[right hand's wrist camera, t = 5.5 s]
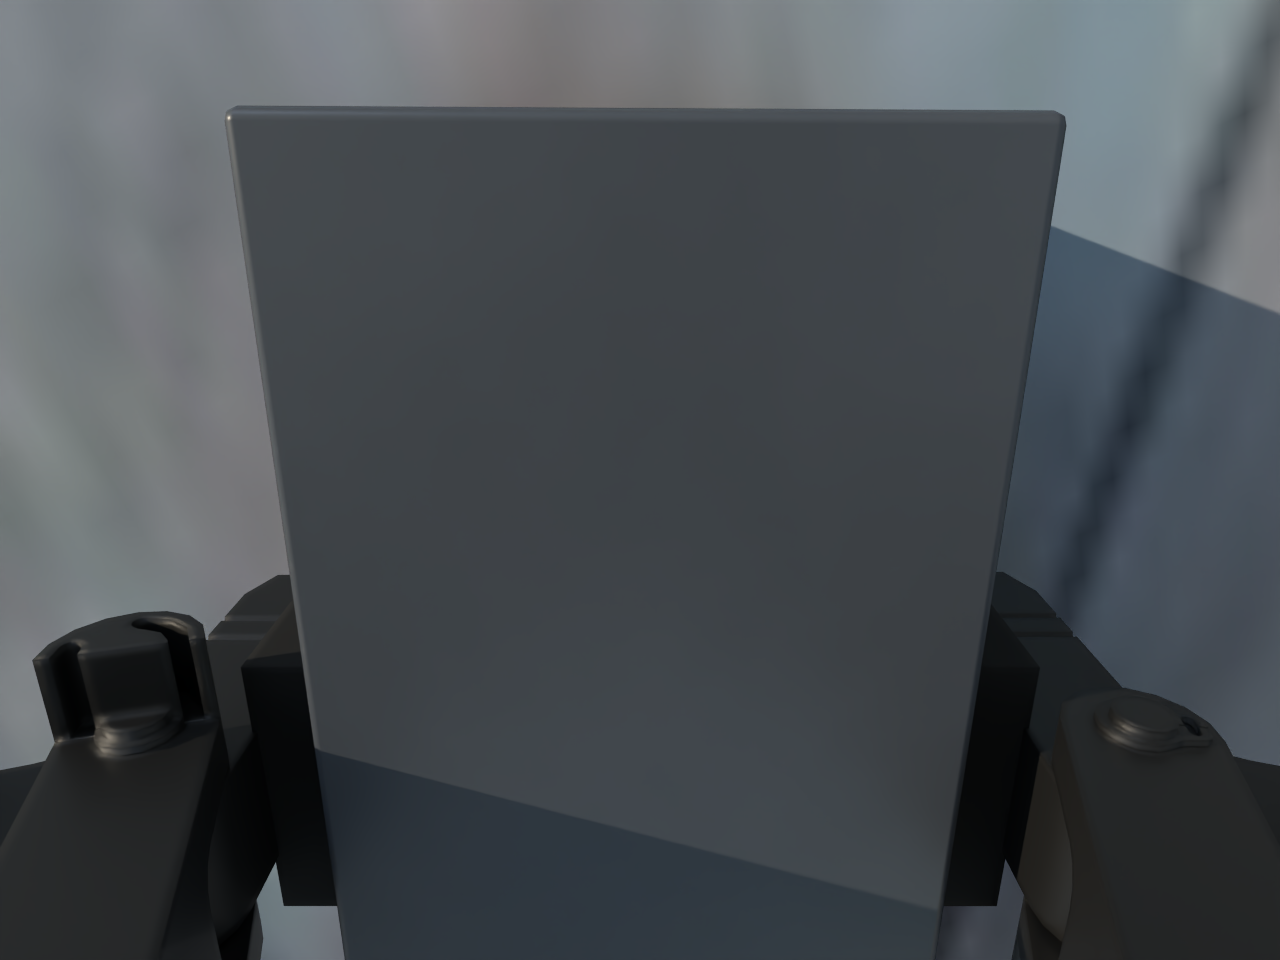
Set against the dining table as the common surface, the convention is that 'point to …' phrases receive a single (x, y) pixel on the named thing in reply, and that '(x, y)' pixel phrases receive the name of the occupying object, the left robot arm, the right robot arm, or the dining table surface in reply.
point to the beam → (642, 508)
